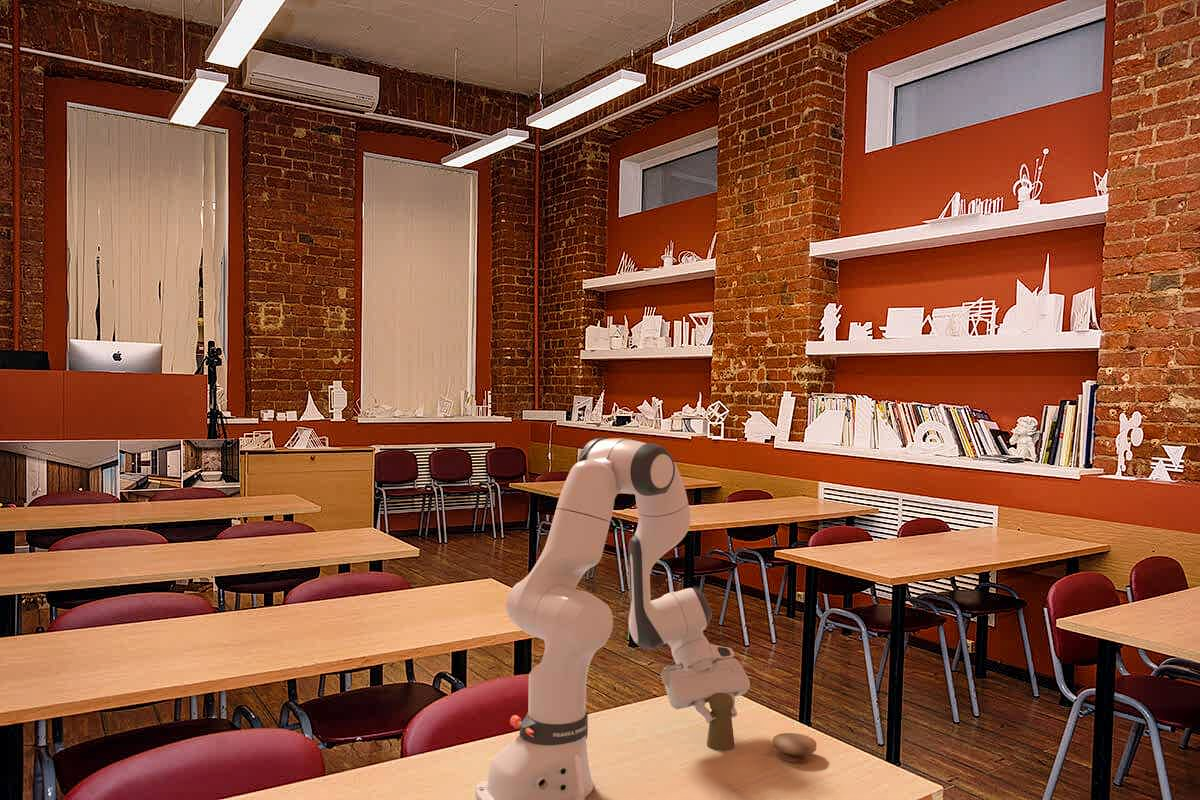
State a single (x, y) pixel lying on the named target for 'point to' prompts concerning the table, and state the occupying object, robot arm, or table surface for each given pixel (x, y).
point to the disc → (794, 747)
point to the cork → (721, 723)
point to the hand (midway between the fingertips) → (722, 718)
